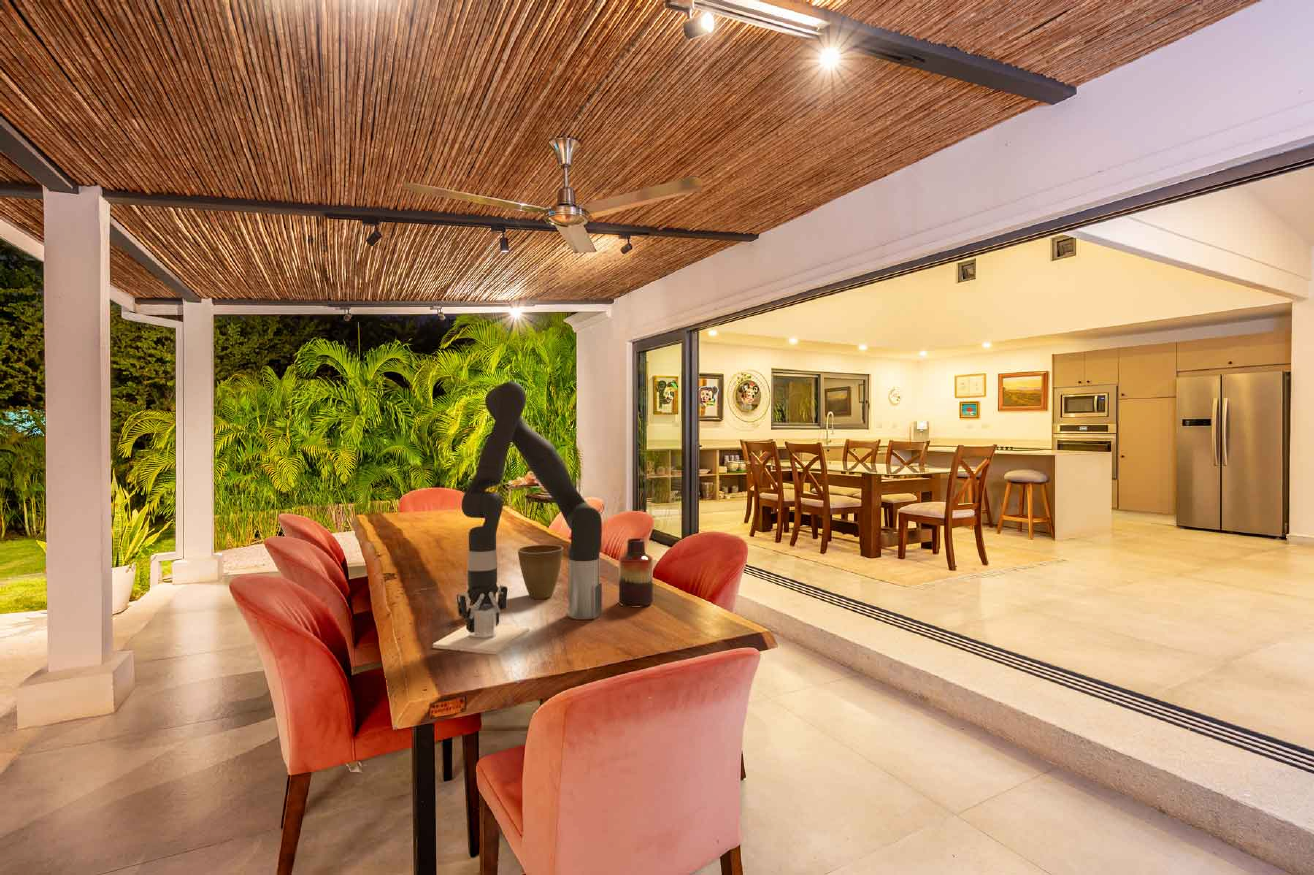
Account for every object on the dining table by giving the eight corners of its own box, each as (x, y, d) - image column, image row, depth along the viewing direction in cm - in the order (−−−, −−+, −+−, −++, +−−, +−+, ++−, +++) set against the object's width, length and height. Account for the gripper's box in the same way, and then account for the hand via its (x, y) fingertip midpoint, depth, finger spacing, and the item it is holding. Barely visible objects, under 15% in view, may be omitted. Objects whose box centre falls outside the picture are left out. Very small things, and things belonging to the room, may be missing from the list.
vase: (659, 601, 204) (659, 538, 204) (640, 609, 195) (640, 544, 194) (631, 596, 210) (631, 535, 209) (612, 604, 201) (612, 540, 200)
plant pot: (569, 591, 216) (569, 545, 215) (552, 603, 201) (552, 553, 201) (529, 589, 219) (529, 543, 219) (509, 600, 205) (509, 551, 204)
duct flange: (529, 631, 174) (529, 610, 174) (495, 654, 157) (495, 630, 156) (471, 626, 179) (471, 605, 179) (432, 647, 161) (432, 624, 161)
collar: (487, 627, 172) (487, 602, 172) (500, 633, 168) (499, 607, 167) (466, 633, 168) (465, 607, 167) (478, 639, 163) (478, 612, 163)
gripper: (499, 560, 175) (499, 620, 175) (450, 568, 165) (450, 632, 165) (513, 564, 170) (514, 626, 170) (464, 573, 159) (464, 639, 160)
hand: (482, 628), depth 168 cm, fingers closed on collar, 6 cm apart
